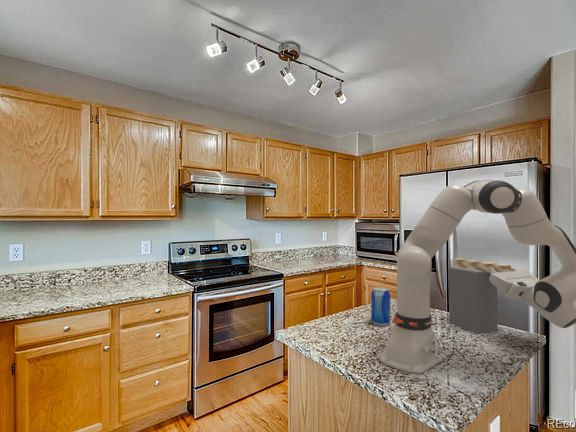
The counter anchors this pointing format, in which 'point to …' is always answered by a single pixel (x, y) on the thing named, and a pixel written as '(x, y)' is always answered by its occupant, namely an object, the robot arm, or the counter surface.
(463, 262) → the maple bar
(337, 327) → the counter surface
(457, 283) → the charcoal stand
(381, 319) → the beer can
